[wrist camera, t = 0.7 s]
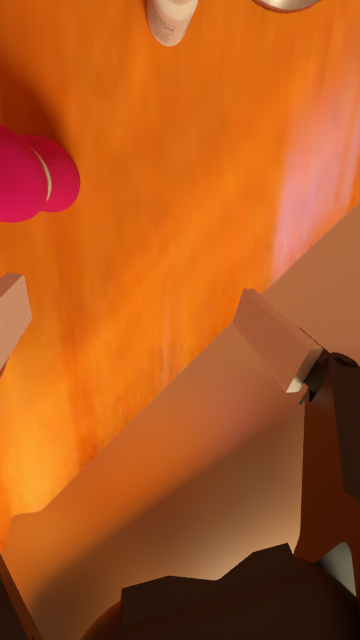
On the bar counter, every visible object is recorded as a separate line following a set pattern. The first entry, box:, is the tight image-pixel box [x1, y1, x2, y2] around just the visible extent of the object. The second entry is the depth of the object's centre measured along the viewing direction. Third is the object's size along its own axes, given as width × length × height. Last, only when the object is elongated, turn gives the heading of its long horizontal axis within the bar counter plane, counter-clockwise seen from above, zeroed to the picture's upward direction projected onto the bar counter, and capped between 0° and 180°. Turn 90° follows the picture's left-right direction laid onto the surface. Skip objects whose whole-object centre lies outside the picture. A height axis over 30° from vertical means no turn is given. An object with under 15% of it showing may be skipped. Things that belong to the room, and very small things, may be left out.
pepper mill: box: [0, 125, 80, 223], centre depth 21 cm, size 7×7×20 cm
